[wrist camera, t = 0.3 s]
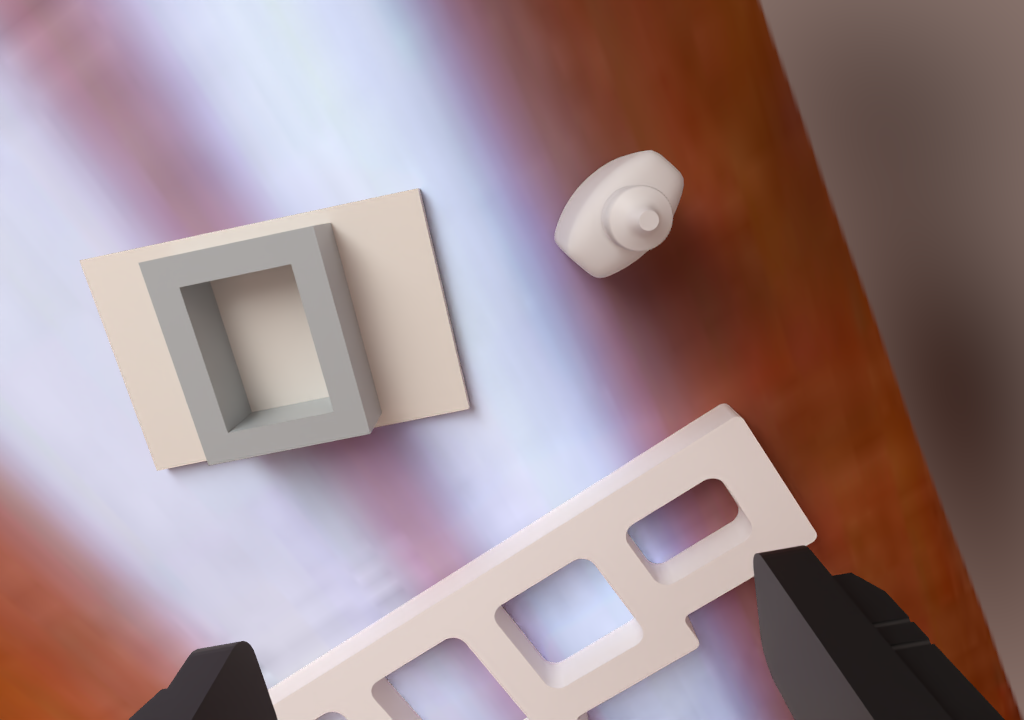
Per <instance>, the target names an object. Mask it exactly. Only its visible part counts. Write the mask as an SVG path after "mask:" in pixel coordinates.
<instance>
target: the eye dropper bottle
mask: <svg viewBox="0 0 1024 720" xmlns="http://www.w3.org/2000/svg"><path fill="white" fill-rule="evenodd" d="M683 187H684V179H683V177H682V175H681V173H680V172H679V171H678V170H677V169H676V168H675V167H674V166H673V165H672V164H671V163H670V162H669V161H668V160H666V159H665V158H664V157H663V156H662V155H660V154H659V153H657V152H654V151H652V150H647V151H641V152H636V153H633V154H629V155H626V156H622V157H619V158H617V159H615V160H612V161H611V162H609V163H607V164H605V165H604V166H602V167H601V168H599V169H598V170H597V171H595V172H594V173H593V174H592V175H590V176H589V177H588V178H587V179H586V180H585V181H584V182H583V183H582V184H581V185H580V186H579V187H578V188H577V190H576V191H575V192H574V194H573V195H572V196H571V198H570V199H569V201H568V203H567V204H566V206H565V208H564V210H563V212H562V214H561V216H560V219H559V221H558V224H557V227H556V231H555V242H556V243H557V245H558V246H559V247H560V248H561V250H562V251H563V252H564V253H565V254H566V255H568V256H569V257H570V258H571V259H572V260H573V261H574V262H575V263H577V264H578V265H579V266H580V267H581V268H583V269H584V270H585V271H586V272H587V273H589V274H590V275H591V276H594V277H596V278H603V277H607V276H610V275H612V274H614V273H617V272H619V271H620V270H622V269H624V268H626V267H627V266H629V265H630V264H632V263H633V262H635V261H636V260H637V259H639V258H640V257H641V256H642V255H644V254H645V253H646V252H647V251H649V249H651V250H652V248H655V247H656V246H657V247H658V244H661V242H663V240H665V239H666V237H668V235H667V234H669V231H671V229H670V228H672V226H671V225H672V224H673V223H672V221H673V219H672V218H673V217H674V216H673V215H674V213H675V211H676V209H677V206H678V204H679V201H680V198H681V195H682V191H683Z"/></svg>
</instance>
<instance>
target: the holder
mask: <svg viewBox="0 0 1024 720" xmlns="http://www.w3.org/2000/svg"><path fill="white" fill-rule="evenodd" d="M711 478H715V479H719V480H721V481H722V482H723V484H724V485H725V487H726V488H727V490H728V491H729V493H730V494H731V496H732V497H733V499H734V500H735V502H736V503H737V505H738V509H739V510H738V515H737V517H736V518H735V519H734V520H733V521H732V522H731V523H729V524H727V525H726V526H724V527H722V528H721V529H719V530H717V531H716V532H714V533H712V534H711V535H709V536H707V537H706V538H704V539H702V540H701V541H699V542H697V543H696V544H694V545H692V546H691V547H689V548H687V549H686V550H684V551H682V552H681V553H679V554H677V555H676V556H674V557H672V558H671V559H669V560H667V561H666V562H663V563H659V564H656V563H652V562H650V561H648V560H647V559H646V558H645V556H644V555H643V553H642V552H641V551H640V549H639V548H638V547H637V545H636V544H635V542H634V541H633V540H632V538H631V537H630V535H629V534H628V533H627V530H628V529H629V527H630V526H631V525H633V524H634V523H636V522H637V521H639V520H641V519H642V518H644V517H645V516H647V515H649V514H650V513H652V512H654V511H655V510H657V509H658V508H660V507H662V506H663V505H665V504H667V503H668V502H670V501H671V500H673V499H675V498H676V497H678V496H680V495H681V494H683V493H684V492H686V491H688V490H689V489H691V488H693V487H694V486H696V485H697V484H699V483H701V482H702V481H704V480H706V479H711ZM816 537H817V533H816V531H815V530H814V528H813V527H812V525H811V524H810V522H809V521H808V519H807V517H806V516H805V514H804V513H803V511H802V510H801V508H800V507H799V505H798V503H797V502H796V500H795V499H794V497H793V496H792V494H791V493H790V491H789V489H788V488H787V486H786V485H785V483H784V482H783V480H782V479H781V477H780V475H779V474H778V472H777V471H776V469H775V468H774V466H773V464H772V463H771V461H770V460H769V458H768V457H767V455H766V454H765V452H764V450H763V449H762V447H761V446H760V444H759V443H758V441H757V440H756V438H755V436H754V435H753V433H752V432H751V430H750V429H749V427H748V426H747V424H746V422H745V421H744V419H743V418H742V417H741V416H740V415H739V414H738V413H736V412H735V411H734V410H733V409H732V408H731V407H730V406H729V405H728V404H720V405H718V406H717V407H715V408H714V409H712V410H710V411H709V412H707V413H706V414H704V415H702V416H701V417H699V418H698V419H696V420H695V421H693V422H691V423H690V424H688V425H687V426H685V427H683V428H682V429H680V430H679V431H677V432H676V433H674V434H672V435H671V436H669V437H668V438H666V439H664V440H663V441H661V442H660V443H658V444H657V445H655V446H653V447H652V448H650V449H649V450H647V451H645V452H644V453H642V454H641V455H639V456H638V457H636V458H634V459H633V460H631V461H630V462H628V463H626V464H625V465H623V466H622V467H620V468H619V469H617V470H615V471H614V472H612V473H611V474H609V475H607V476H606V477H604V478H603V479H601V480H600V481H598V482H596V483H595V484H593V485H592V486H590V487H588V488H587V489H585V490H584V491H582V492H580V493H579V494H577V495H576V496H574V497H573V498H571V499H569V500H568V501H566V502H565V503H563V504H561V505H560V506H558V507H557V508H555V509H554V510H552V511H550V512H549V513H547V514H546V515H544V516H542V517H541V518H539V519H538V520H536V521H535V522H533V523H531V524H530V525H528V526H527V527H525V528H523V529H522V530H520V531H519V532H517V533H516V534H514V535H512V536H511V537H509V538H508V539H506V540H504V541H503V542H501V543H500V544H498V545H497V546H495V547H493V548H492V549H490V550H489V551H487V552H485V553H484V554H482V555H481V556H479V557H478V558H476V559H474V560H473V561H471V562H470V563H468V564H466V565H465V566H463V567H462V568H460V569H459V570H457V571H455V572H454V573H452V574H451V575H449V576H447V577H446V578H444V579H443V580H441V581H440V582H438V583H436V584H435V585H433V586H432V587H430V588H428V589H427V590H425V591H424V592H422V593H421V594H419V595H417V596H416V597H414V598H413V599H411V600H409V601H408V602H406V603H405V604H403V605H402V606H400V607H398V608H397V609H395V610H394V611H392V612H390V613H389V614H387V615H386V616H384V617H382V618H381V619H379V620H378V621H376V622H375V623H373V624H371V625H370V626H368V627H367V628H365V629H363V630H362V631H360V632H359V633H357V634H356V635H354V636H352V637H351V638H349V639H348V640H346V641H344V642H343V643H341V644H340V645H338V646H337V647H335V648H333V649H332V650H330V651H329V652H327V653H325V654H324V655H322V656H321V657H319V658H318V659H316V660H314V661H313V662H311V663H310V664H308V665H306V666H305V667H303V668H302V669H300V670H299V671H297V672H295V673H294V674H292V675H291V676H289V677H287V678H286V679H284V680H283V681H281V682H280V683H278V684H276V685H275V686H273V687H272V688H270V689H268V692H269V695H270V698H271V701H272V704H273V707H274V710H275V713H276V715H277V719H278V720H315V719H317V718H318V717H320V716H322V715H323V714H325V713H328V712H337V713H340V714H342V715H343V716H344V717H345V718H346V719H347V720H422V719H421V717H420V716H419V715H418V714H417V713H416V712H415V711H414V710H413V708H412V707H411V706H410V705H409V704H408V703H407V702H406V701H405V699H404V698H403V697H402V696H401V695H400V694H399V693H398V691H397V690H396V689H395V688H394V687H393V686H392V685H391V684H390V682H389V681H388V680H387V679H386V678H385V676H387V675H388V674H390V673H392V672H393V671H395V670H396V669H398V668H400V667H401V666H403V665H405V664H406V663H408V662H410V661H411V660H413V659H414V658H416V657H418V656H419V655H421V654H423V653H424V652H426V651H427V650H429V649H431V648H432V647H434V646H436V645H437V644H439V643H440V642H442V641H444V640H446V639H448V638H458V639H461V640H462V641H464V642H465V643H466V644H467V645H468V647H469V648H470V649H471V650H472V651H473V653H474V654H475V655H476V656H477V657H478V659H479V660H480V661H481V662H482V663H483V665H484V666H485V667H486V668H487V669H488V671H489V672H490V673H491V674H492V675H493V677H494V678H495V679H496V680H497V681H498V683H499V684H500V685H501V686H502V687H503V689H504V690H505V691H506V692H507V693H508V695H509V696H510V697H511V698H512V699H513V701H514V702H515V703H516V704H517V705H518V707H519V708H520V709H521V710H522V711H523V713H524V714H525V715H526V716H527V718H525V719H524V720H588V715H587V711H589V710H591V709H592V708H594V707H596V706H598V705H599V704H601V703H603V702H604V701H606V700H608V699H610V698H611V697H613V696H615V695H617V694H618V693H620V692H622V691H624V690H625V689H627V688H629V687H631V686H632V685H634V684H636V683H638V682H639V681H641V680H643V679H644V678H646V677H648V676H650V675H651V674H653V673H655V672H657V671H658V670H660V669H662V668H664V667H665V666H667V665H669V664H671V663H672V662H674V661H676V660H678V659H679V658H681V657H683V656H685V655H686V654H688V653H690V652H691V651H693V650H695V649H697V648H698V646H699V641H698V638H697V636H696V634H695V631H694V629H693V626H692V624H691V622H690V619H689V617H688V616H687V615H689V614H690V613H692V612H694V611H695V610H697V609H699V608H701V607H702V606H704V605H706V604H707V603H709V602H711V601H713V600H714V599H716V598H718V597H719V596H721V595H723V594H725V593H726V592H728V591H730V590H731V589H733V588H735V587H737V586H738V585H740V584H742V583H743V582H745V581H747V580H748V579H750V578H752V577H754V569H753V558H754V555H755V554H756V553H761V552H767V551H773V550H778V549H784V548H790V547H796V546H801V545H804V546H807V545H808V544H810V543H812V542H813V541H815V539H816ZM577 559H587V560H590V561H591V562H593V563H594V564H595V566H596V567H597V568H598V570H599V571H600V572H601V574H602V575H603V576H604V578H605V579H606V580H607V582H608V583H609V584H610V586H611V587H612V588H613V590H614V591H615V592H616V594H617V595H618V596H619V598H620V599H621V600H622V602H623V603H624V604H625V606H626V607H627V608H628V610H629V611H630V612H631V614H632V615H633V616H634V618H633V619H632V620H630V621H629V622H627V623H626V624H624V625H622V626H621V627H619V628H617V629H615V630H614V631H612V632H610V633H609V634H607V635H605V636H604V637H602V638H600V639H599V640H597V641H595V642H594V643H592V644H590V645H588V646H587V647H585V648H583V649H582V650H580V651H578V652H577V653H575V654H573V655H572V656H570V657H568V658H566V659H565V660H563V661H561V662H558V663H552V662H548V661H546V660H545V659H544V658H543V657H542V656H541V654H540V653H539V652H538V651H537V649H536V648H535V647H534V646H533V644H532V643H531V642H530V641H529V639H528V638H527V637H526V636H525V634H524V633H523V632H522V631H521V629H520V628H519V627H518V626H517V624H516V623H515V622H514V621H513V620H512V618H511V617H510V616H509V615H508V613H507V612H506V611H505V610H504V608H503V607H502V606H501V605H502V604H504V603H506V602H507V601H509V600H510V599H512V598H514V597H515V596H517V595H519V594H520V593H522V592H523V591H525V590H527V589H528V588H530V587H532V586H533V585H535V584H536V583H538V582H540V581H541V580H543V579H545V578H546V577H548V576H549V575H551V574H553V573H554V572H556V571H558V570H559V569H561V568H562V567H564V566H566V565H567V564H569V563H571V562H572V561H574V560H577Z"/></svg>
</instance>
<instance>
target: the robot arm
mask: <svg viewBox="0 0 1024 720" xmlns="http://www.w3.org/2000/svg"><path fill="white" fill-rule="evenodd" d="M753 569H754V578H755V588H756V597H757V606H758V615H759V625H760V634H761V641H762V646H763V651H764V654H765V658H766V661H767V664H768V667H769V670H770V673H771V675H772V678H773V680H774V682H775V684H776V686H777V688H778V689H779V691H780V693H781V695H782V697H783V699H784V701H785V702H786V704H787V706H788V708H789V710H790V712H791V713H792V715H793V717H794V719H795V720H1005V719H1004V718H1003V717H1002V716H1001V715H1000V714H999V713H998V712H997V711H996V710H995V709H994V708H993V707H992V706H991V704H990V703H989V702H988V701H987V700H986V699H985V698H984V697H983V696H982V695H981V694H980V693H979V692H978V691H977V689H976V688H975V687H974V686H973V685H972V684H971V683H970V682H969V681H968V680H967V679H966V678H965V677H964V676H963V674H962V673H961V672H960V671H959V670H958V669H957V668H956V667H955V666H954V665H953V664H952V663H951V662H950V661H949V659H948V658H947V657H946V656H945V655H944V654H943V653H942V652H941V651H940V650H939V649H938V648H937V647H936V646H935V644H931V643H930V641H929V638H928V637H927V636H926V635H925V634H924V633H923V632H922V631H921V629H920V628H919V627H918V626H917V625H916V624H915V623H914V622H910V620H909V617H908V616H907V614H906V613H905V612H904V611H903V610H902V609H901V608H900V607H899V606H898V605H897V604H896V603H895V602H894V601H893V599H892V598H891V597H890V596H889V595H888V594H887V593H886V592H885V591H883V590H881V589H880V588H878V587H876V586H874V585H872V584H871V583H869V582H867V581H865V580H863V579H862V578H860V577H858V576H856V575H854V574H853V573H847V574H841V575H835V576H832V575H831V574H830V573H829V572H828V570H827V569H826V568H825V567H824V566H823V564H822V563H821V562H820V561H819V560H818V558H817V557H816V556H815V555H814V554H813V552H812V551H811V550H810V549H809V548H808V547H807V546H804V545H801V546H796V547H790V548H784V549H778V550H773V551H767V552H761V553H756V554H755V555H754V558H753ZM129 720H278V719H277V715H276V713H275V710H274V707H273V704H272V701H271V698H270V695H269V692H268V690H267V687H266V684H265V681H264V678H263V675H262V672H261V669H260V667H259V664H258V661H257V658H256V655H255V653H254V650H253V648H252V647H251V645H250V644H249V643H247V642H245V641H241V642H235V643H230V644H224V645H218V646H213V647H207V648H201V649H197V650H195V651H193V652H192V653H191V654H190V656H189V657H188V658H187V660H186V661H185V663H184V664H183V666H182V667H181V669H180V670H179V672H178V673H177V675H176V676H175V678H174V679H173V681H172V682H171V684H170V685H169V687H168V688H167V689H162V690H160V691H159V692H158V693H157V694H156V695H155V696H154V697H153V698H152V699H151V700H150V701H148V702H147V703H146V704H145V705H144V706H143V707H142V708H141V709H140V710H139V711H137V712H136V713H135V714H134V715H133V716H132V717H131V718H130V719H129Z"/></svg>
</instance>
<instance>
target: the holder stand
mask: <svg viewBox="0 0 1024 720" xmlns="http://www.w3.org/2000/svg"><path fill="white" fill-rule="evenodd" d="M80 263H81V266H82V269H83V271H84V274H85V277H86V280H87V282H88V285H89V288H90V290H91V293H92V296H93V299H94V301H95V304H96V307H97V309H98V312H99V315H100V318H101V320H102V323H103V326H104V328H105V331H106V334H107V336H108V339H109V342H110V345H111V347H112V350H113V353H114V355H115V358H116V361H117V364H118V366H119V369H120V372H121V374H122V377H123V380H124V383H125V385H126V388H127V391H128V393H129V396H130V399H131V402H132V404H133V407H134V410H135V412H136V415H137V418H138V420H139V423H140V426H141V429H142V431H143V434H144V437H145V439H146V442H147V445H148V448H149V450H150V453H151V456H152V458H153V461H154V464H155V467H156V469H157V471H158V470H163V469H168V468H173V467H178V466H183V465H188V464H193V463H198V462H203V461H207V462H208V465H209V466H210V465H215V464H220V463H225V462H230V461H235V460H240V459H245V458H250V457H255V456H260V455H265V454H270V453H275V452H281V451H286V450H291V449H296V448H301V447H306V446H311V445H316V444H321V443H326V442H331V441H336V440H341V439H346V438H352V437H357V436H362V435H367V434H371V432H372V430H373V428H375V427H380V426H386V425H391V424H396V423H401V422H406V421H411V420H416V419H421V418H426V417H431V416H436V415H441V414H446V413H451V412H456V411H461V410H466V409H469V408H470V402H469V398H468V393H467V389H466V385H465V380H464V376H463V372H462V368H461V363H460V359H459V355H458V350H457V346H456V342H455V337H454V333H453V329H452V325H451V320H450V316H449V312H448V307H447V303H446V299H445V294H444V290H443V286H442V282H441V277H440V273H439V269H438V264H437V260H436V256H435V251H434V247H433V243H432V239H431V234H430V230H429V226H428V221H427V217H426V213H425V208H424V204H423V200H422V196H421V191H420V189H419V188H418V189H413V190H408V191H404V192H399V193H394V194H390V195H385V196H380V197H375V198H371V199H366V200H361V201H357V202H352V203H347V204H343V205H338V206H333V207H329V208H324V209H319V210H315V211H310V212H305V213H300V214H296V215H291V216H286V217H282V218H277V219H272V220H268V221H263V222H258V223H254V224H249V225H244V226H239V227H235V228H230V229H225V230H221V231H216V232H211V233H207V234H202V235H197V236H193V237H188V238H183V239H178V240H174V241H169V242H164V243H160V244H155V245H150V246H146V247H141V248H136V249H132V250H127V251H122V252H118V253H113V254H108V255H103V256H99V257H94V258H89V259H85V260H80Z"/></svg>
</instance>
